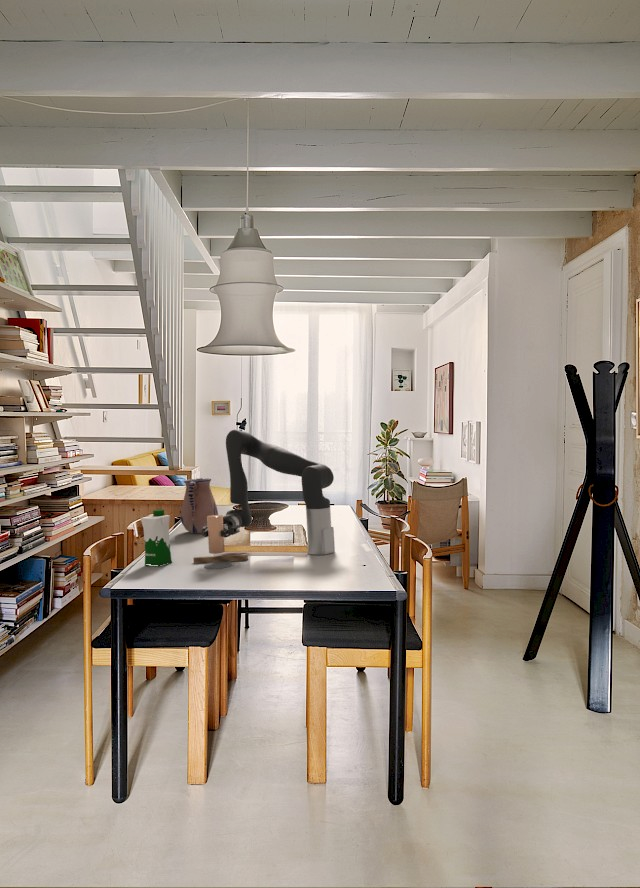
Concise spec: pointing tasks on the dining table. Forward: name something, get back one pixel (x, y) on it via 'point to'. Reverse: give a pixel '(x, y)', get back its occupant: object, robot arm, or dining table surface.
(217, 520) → the peach cylinder
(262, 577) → the dining table surface
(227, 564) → the coaster
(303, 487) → the robot arm
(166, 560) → the milk carton
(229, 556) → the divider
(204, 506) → the ceramic pitcher
